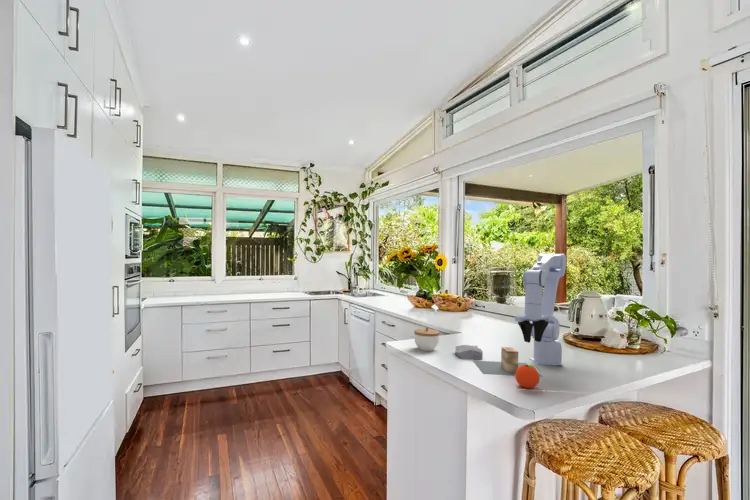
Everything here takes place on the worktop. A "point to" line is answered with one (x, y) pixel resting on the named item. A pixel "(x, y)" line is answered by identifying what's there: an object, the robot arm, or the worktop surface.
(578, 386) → the worktop surface
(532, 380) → the clementine
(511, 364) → the maple block
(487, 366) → the slate mat
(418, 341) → the lidded jar
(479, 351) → the stone block
